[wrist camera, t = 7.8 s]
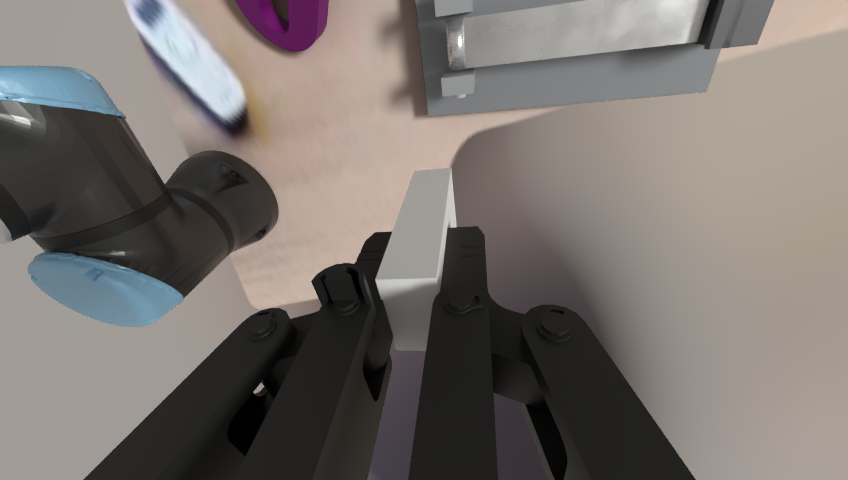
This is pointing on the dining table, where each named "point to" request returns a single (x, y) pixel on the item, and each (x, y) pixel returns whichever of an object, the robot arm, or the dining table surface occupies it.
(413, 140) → the dining table surface
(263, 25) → the mounting bracket
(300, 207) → the dining table surface
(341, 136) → the dining table surface
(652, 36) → the grey long flat bar
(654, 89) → the latch base
